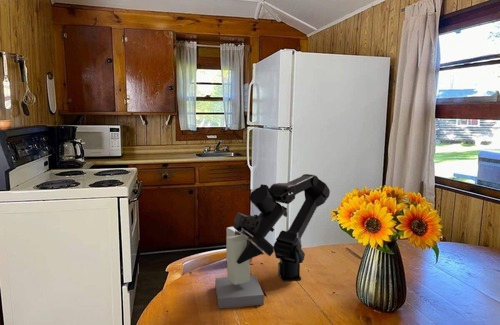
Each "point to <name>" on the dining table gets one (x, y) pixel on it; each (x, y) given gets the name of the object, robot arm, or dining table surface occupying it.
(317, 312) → the dining table surface
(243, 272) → the sage block
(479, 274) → the dining table surface
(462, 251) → the dining table surface
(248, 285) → the plinth
